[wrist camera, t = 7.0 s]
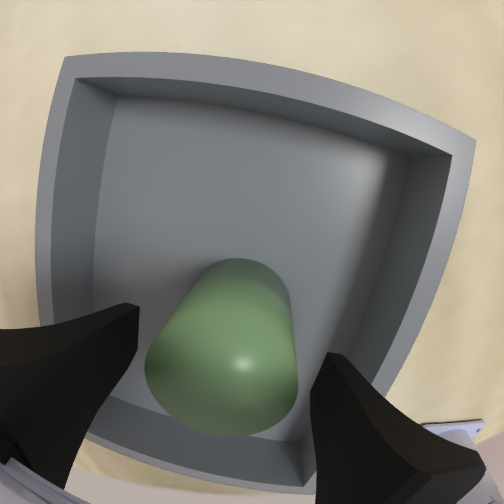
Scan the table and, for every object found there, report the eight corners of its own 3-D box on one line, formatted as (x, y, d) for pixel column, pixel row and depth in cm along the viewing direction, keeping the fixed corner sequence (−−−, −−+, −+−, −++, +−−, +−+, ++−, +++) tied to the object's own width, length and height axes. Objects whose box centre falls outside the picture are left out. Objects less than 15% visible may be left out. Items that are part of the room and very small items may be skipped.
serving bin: (309, 444, 18) (313, 494, 13) (92, 388, 18) (63, 427, 13) (424, 145, 12) (476, 140, 8) (114, 80, 12) (64, 56, 8)
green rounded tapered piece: (274, 358, 15) (271, 447, 9) (183, 333, 15) (141, 411, 9) (304, 274, 14) (322, 344, 8) (201, 245, 14) (151, 297, 8)
